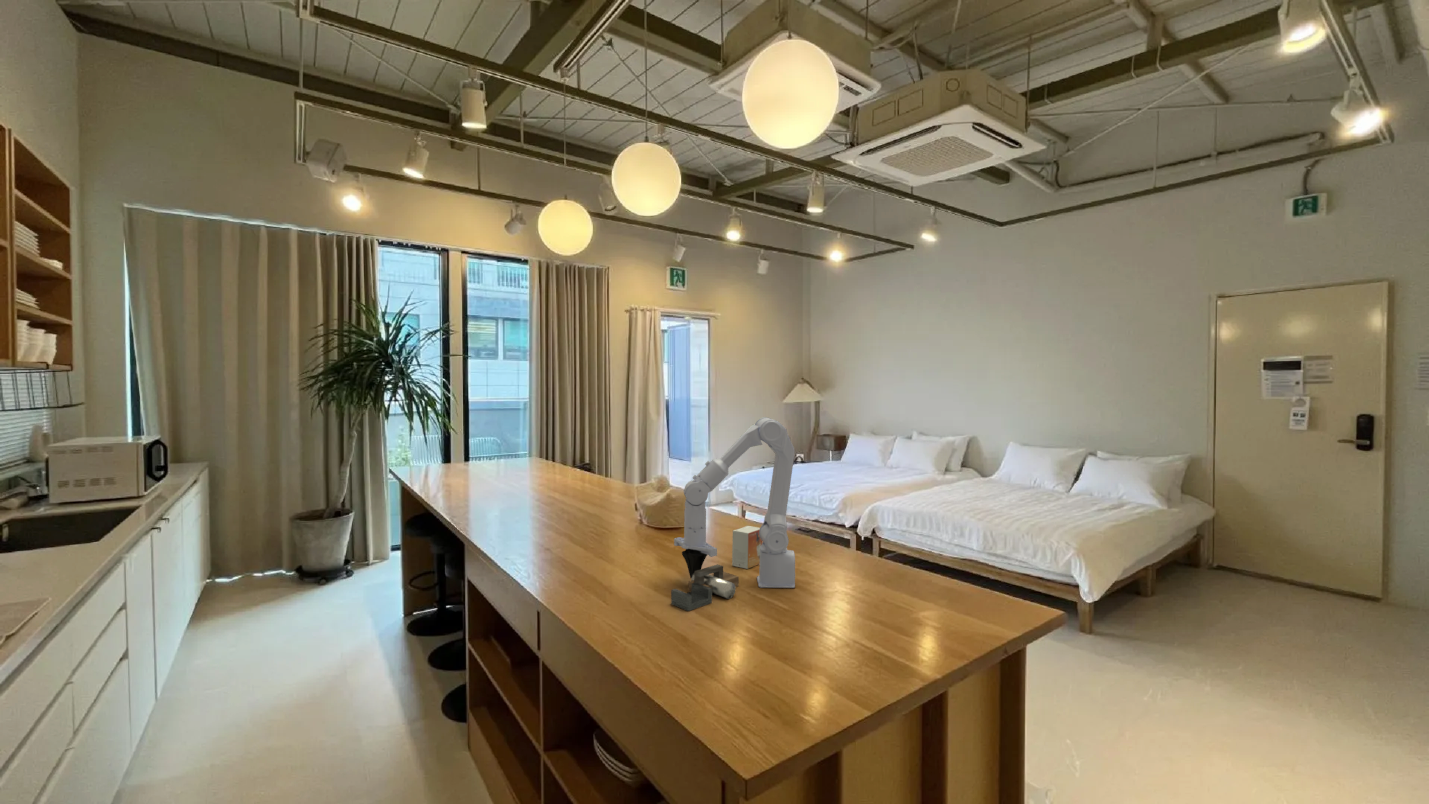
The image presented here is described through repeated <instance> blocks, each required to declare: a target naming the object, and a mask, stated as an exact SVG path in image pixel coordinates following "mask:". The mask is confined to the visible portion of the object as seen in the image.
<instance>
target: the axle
mask: <svg viewBox="0 0 1429 804" xmlns="http://www.w3.org/2000/svg"><path fill="white" fill-rule="evenodd" d="M690 579H691V580H690V581H692V580H694V574H693V576H692V578H690ZM704 584H705V585H708V586H709V588H712V595H713V594H714V595H717V596H719V597H722V598H723V599H727V600H730V599H732V598H733V597H734V595H735V594H736V589H737V588H736V587H735V584H734V583H732V582H729V581H726V580H723V579H720V578H717V577H715V576H712V575H711V574H708V575H705V576H704Z"/></svg>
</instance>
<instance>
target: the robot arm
mask: <svg viewBox="0 0 1429 804" xmlns="http://www.w3.org/2000/svg"><path fill="white" fill-rule="evenodd" d="M763 443H766V444H767V446H768V447H769V448H770V449H771V451H772V452H773V453H774V461H773V462H774V463H773V468H772V475H771V484H770V491H769V497H768V498H769V499H768V503H767V504H768V505H767V511H766V513H765V516H764V519H763V523H762V524H761V526H760V527H759V528H760V530H759V536H760V539H761V540H762V545H761V546H760V564H759V569H758V570H759V573H758V574H759V575H758V576H756V581H757V584H758V585H757V586H758V587H759V588H769V589H770V588H774V589H775V588H776V589H777V588H778V589H779V588H780V589H782V588H783V589H786V588H787V589H790V588H791V589H794V588H796V554H795V551H794V550H791V549H788V545H789V539H790V538H789V536H788V532H787V531H788V524H787V518H786V516H787V510H788V505H789V504H788V501H789V494H790V488H791V481H792V473H793V469H794V467H793V466H794V460H795V455H796V450H795V447H794V445H793V442H792V439H791V438H790V435H789V434H788V430H787V428H786V427H785V426H784V425H783V424H782V423H781V422H780V421H778V420H777V419H772V418H770V417H767V416H765V417H764V416H763V417H761V418H759V419H758V420H756V422H755V424H752V425H751V426H749V427H748V428H747V429H746V431H744V432H743V433H742V434H741V436H739V438H738V439H736V441H734V443H733V444H732V445H731V446H730V447H729V448H728V449H727V451H726V452H725V453H724V454H723V455H722V456H721V457H720V458H713V459H711V460H710V461H709V460H707V461H706V462H705V464H704V465H705V467H703V468H702V470H701V471H700V472H699V473H698V474H697V475H696V474H694V475H693V476H692V480H690V481H688V482H687V483H686V484H685V485H684V488H683V494H684V496H685V501H684V507H685V508H684V511H683V512H684V513H683V515H684V516H683V517H684V522H683V523H684V524H683V527H684V530H683V535H684V536H683V537H675V538H674V539H673V542H674V543H673V545H674V546H675V547H678V546H679V547H681V548H682V549H685V550H683V551H681V556H682V557H683V559H684V561H685V563H686V567H687V569H688V574H689V577H690V579H691V578H692V576H693V574H694V571H697V570H700V569H702V567H703V565H704V562H705V560H706V559H707V556H708V557H710V558H713V557H717V556H718V548H717V547H714V546H712V545H711V544H709V543H708V542H707V509H706V501H707V499H708V497H709V493H711V492H713V490H715V489H716V487H718V486H719V485H720V484H721V483H722V482H723V480H724V479H726V478H727V477H728V475H729V468H730V467H731V466H732V465H733V464H734V463H735V462H736V461H737V460H738V459H740V457H742V456H743V455H744V454H745V453H746V452H747V451H748V450H749V449H750V448H752V447H753V448H754V447H757V446H762V445H763Z"/></svg>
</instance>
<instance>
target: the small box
mask: <svg viewBox="0 0 1429 804" xmlns="http://www.w3.org/2000/svg"><path fill="white" fill-rule="evenodd" d="M759 530H760V527H758V526H751V525H745V526H743V527H741V528H740V527H739V528H737V529H733V530H732V543H731V544H732V545H731V546H732V549H731V550H732V551H731V553H732V555H731V557H732V558H731V563H732V564H731V566H732V567H736V568H741V569H745V570H748V569H750V568H754V567H756V566H757V565H758V566H759V565H760V546H761V545H762V543H763V541H762V540H761V539H760V536H759Z"/></svg>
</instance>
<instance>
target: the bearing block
mask: <svg viewBox="0 0 1429 804" xmlns="http://www.w3.org/2000/svg"><path fill="white" fill-rule="evenodd" d="M708 574H709V575H712V576H715V577H717V578H720V579H723V580H726V581H729V582H732V583H734V584H735V587H739V582H740V580H739V579H740V578H739V575H735V574H733V573H730V572H726V571H724V565H722V564H721V565H720V564H714V565H711V566H708V567H705V568H701V569H700V570H697V571H694V580H692V581H691V580H689V581H688V592H691V591H692V583H698V584H701V585H704V586H706V587H709V586H708V585H705V584H704V576H705V575H708Z"/></svg>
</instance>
